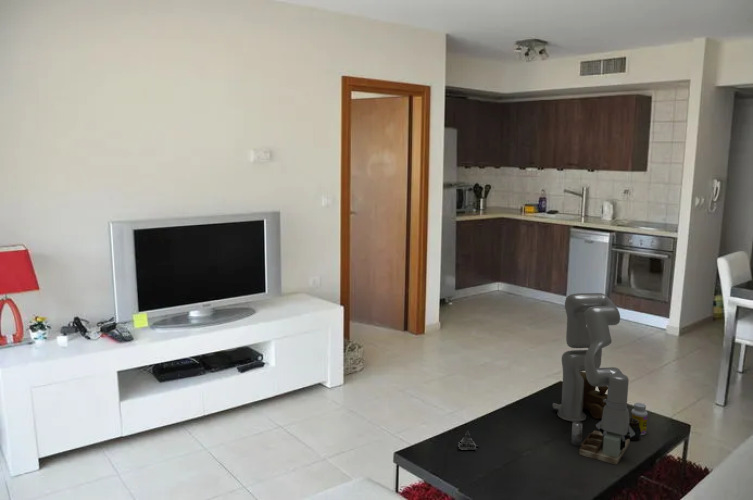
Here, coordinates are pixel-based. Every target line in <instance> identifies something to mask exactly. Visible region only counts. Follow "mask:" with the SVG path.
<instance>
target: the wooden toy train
mask: <svg viewBox="0 0 753 500" xmlns="http://www.w3.org/2000/svg"><path fill="white" fill-rule="evenodd" d="M580 375H581V376H582V377H583V379H584V397H583V410H584V409H585V410H587V411H589V413H590V415H591V417H593V418H594V419H597V420H600V419H602V414H603V409H604V406H605V405H606V403H605V402H603V399H607V392H608V386H601V387H594V386H592V385H590V384H589V382H588V380H587V377H586V372H585V371H581V372H580ZM596 388H597V389H598V390H597V389H596Z"/></svg>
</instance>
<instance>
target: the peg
mask: <svg viewBox="0 0 753 500" xmlns="http://www.w3.org/2000/svg"><path fill="white" fill-rule="evenodd" d="M582 436H583V422H582V421H579V422H577V421H575V422H573V421H572V425H571V442H570V443H571V444H572V446H575V447H576V446H577V447H581V444H582Z"/></svg>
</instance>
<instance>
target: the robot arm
mask: <svg viewBox="0 0 753 500" xmlns="http://www.w3.org/2000/svg"><path fill="white" fill-rule="evenodd" d="M564 310H565V313H566V332H565V334H566V337H565V341H566V344H567V346H568V347H569V348H571V349H572V350H567V351H565V352H563V354H562V355H561V365H562V386H561V387H562V388H561V403H559V404H558V403H555V402H553V403H552V408H553V409H554V410H556V411H557V410H558V411H557V416H558V417H559V418H560V419H562V420H564V421H568V422H572V423H573V422H575V421H577V422H583V421H585V420H586V418H587V415H586V413H584V411H583V410H584V409H583V397H584V379H583V377H582V376H581V375H580V372H586V377H587V380H588V382H589V384H590V385H592V386H594V387H596V388H598V387H601V386H608V389H607V392H606V394H607V399H603V402H605V403H606V405H605V406H604V409H603V414H602V418H601V420H599V421H598V422H597V423H596V424H595V427H596V428H597V429H598V431H599V432H601V433H602V434H603V441H604V436H605V435H606V434H607V432H611V433H615V434H619V435H621V438H622V440H621V444H620V450H622V449H623V448H625V441H626V440H627V439H629V438H630V437H632V436H634V435H635V432H634V431H633V430H632V428H631V427H630V426H629V418H630V412H629V408H628V394H629V383H630V382H629V381H630V380H629V377H628V376H627V375H625V374H624V373H623V372H622V371H621V369H620V368H618V367H612V366H611V367H601V365H602V355H603V354H602V353H603V348H607V347H608V346H610V345H611V344H612V343H613V342H612V340H613V339H612V337H611V333H610V328H609V326H616V325H618V324H619V323H620V321H621V314H620V311H619V309H618V307H617V306H616V305H615V303H614V302H613V301H612V300H611V299H610V298H609V297H608V296H607V294H605V293H603V292H588V293H587V292H585V293H583V292H581V293H578V292H577V293H572V294H569V295H567V296H566V298H565V301H564ZM628 431H629V432H630V434H627V432H628ZM626 434H627V435H626Z"/></svg>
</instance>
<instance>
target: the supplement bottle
mask: <svg viewBox="0 0 753 500" xmlns="http://www.w3.org/2000/svg"><path fill="white" fill-rule="evenodd" d="M633 407H634V408H632V409H631V410H630V411H631V412H632V418H634V419H637V420H639V426H640V430H641V434H640V436H644V435H646V434H647V426H648V416H649V415H648V411H647V410H646V409H647V405H646V404H645V403H642V402H635V403H634V404H633Z"/></svg>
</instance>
